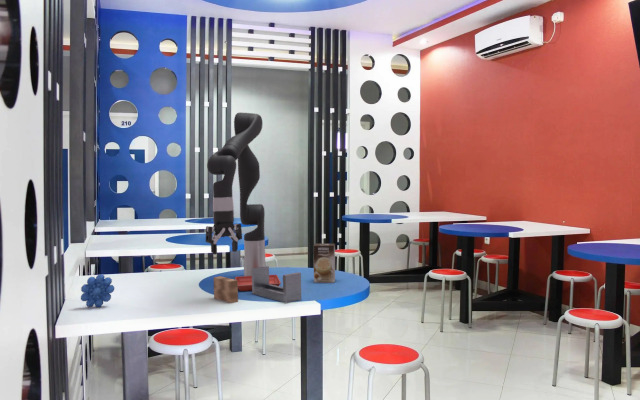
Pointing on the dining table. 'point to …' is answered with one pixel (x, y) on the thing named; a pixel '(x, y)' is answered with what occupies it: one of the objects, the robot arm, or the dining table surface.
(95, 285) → the blue knobby flower
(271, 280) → the plant saucer
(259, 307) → the dining table surface
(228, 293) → the door panel
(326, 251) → the coffee box
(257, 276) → the grey desk caddy
